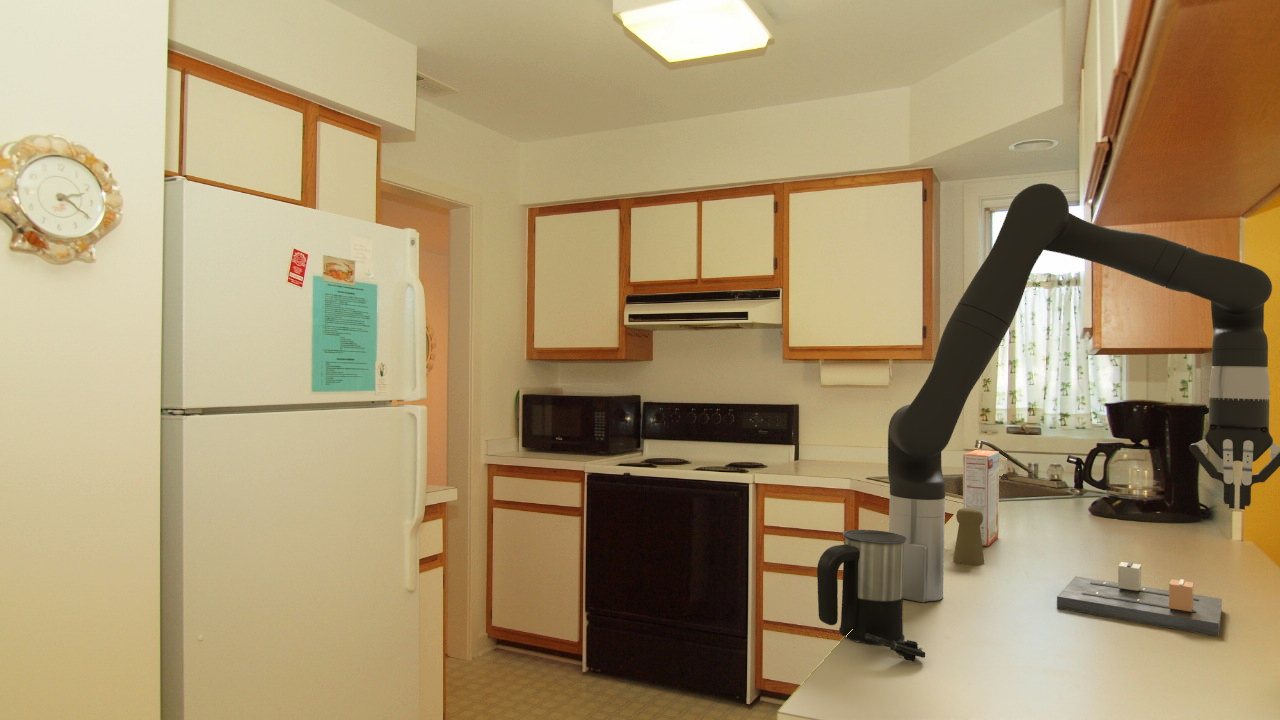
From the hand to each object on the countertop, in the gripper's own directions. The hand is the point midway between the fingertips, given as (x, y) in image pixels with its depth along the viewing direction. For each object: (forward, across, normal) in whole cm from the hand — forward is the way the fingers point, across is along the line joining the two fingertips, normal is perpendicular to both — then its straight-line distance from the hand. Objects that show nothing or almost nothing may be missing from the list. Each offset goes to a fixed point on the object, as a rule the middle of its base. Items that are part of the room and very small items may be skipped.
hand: (1237, 508), depth 125 cm
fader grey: (+17, -15, +9) cm, 24 cm away
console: (+19, -13, +4) cm, 23 cm away
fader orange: (+17, -7, 0) cm, 18 cm away
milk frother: (+19, -40, -43) cm, 62 cm away
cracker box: (+19, -49, +46) cm, 70 cm away
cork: (+19, -45, +21) cm, 53 cm away
